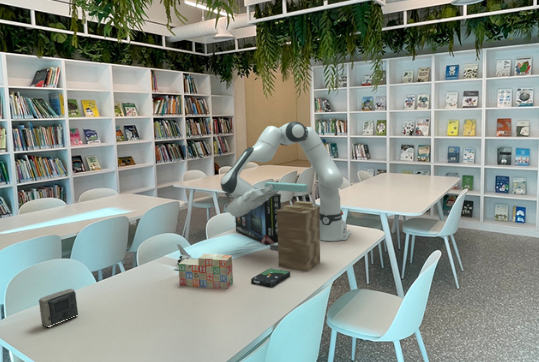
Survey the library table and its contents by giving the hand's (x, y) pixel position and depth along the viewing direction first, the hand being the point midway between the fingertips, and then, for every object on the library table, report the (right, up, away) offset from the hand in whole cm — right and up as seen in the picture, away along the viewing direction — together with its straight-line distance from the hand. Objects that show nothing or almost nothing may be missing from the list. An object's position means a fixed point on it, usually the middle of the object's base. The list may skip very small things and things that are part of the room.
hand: (275, 185), depth 199 cm
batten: (+5, -2, -2) cm, 6 cm away
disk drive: (-2, -40, -18) cm, 44 cm away
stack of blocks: (-29, -41, -21) cm, 54 cm away
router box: (-9, -30, +48) cm, 57 cm away
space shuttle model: (-35, -38, 0) cm, 52 cm away
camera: (-74, -47, -50) cm, 101 cm away
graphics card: (+9, -33, +30) cm, 45 cm away
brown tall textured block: (+11, -36, -1) cm, 38 cm away
